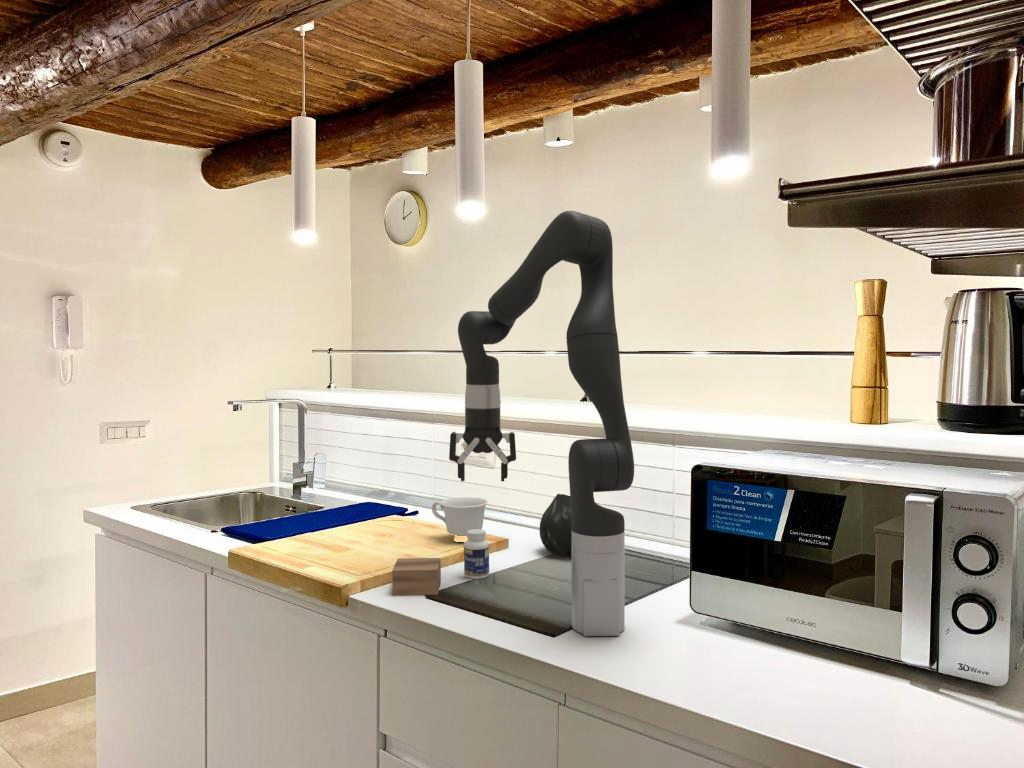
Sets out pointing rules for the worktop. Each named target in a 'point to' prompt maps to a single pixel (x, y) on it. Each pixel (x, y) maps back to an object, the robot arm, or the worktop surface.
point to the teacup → (461, 514)
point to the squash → (557, 526)
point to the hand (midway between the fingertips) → (482, 480)
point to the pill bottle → (476, 555)
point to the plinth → (416, 576)
